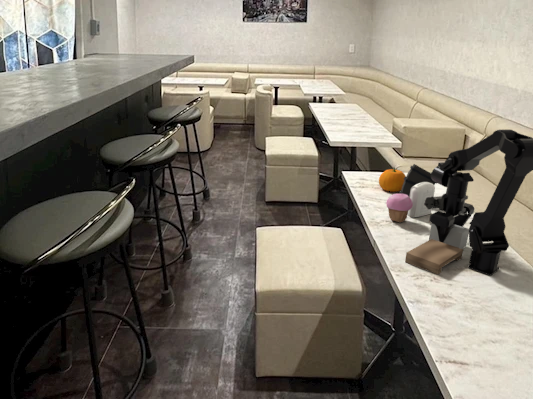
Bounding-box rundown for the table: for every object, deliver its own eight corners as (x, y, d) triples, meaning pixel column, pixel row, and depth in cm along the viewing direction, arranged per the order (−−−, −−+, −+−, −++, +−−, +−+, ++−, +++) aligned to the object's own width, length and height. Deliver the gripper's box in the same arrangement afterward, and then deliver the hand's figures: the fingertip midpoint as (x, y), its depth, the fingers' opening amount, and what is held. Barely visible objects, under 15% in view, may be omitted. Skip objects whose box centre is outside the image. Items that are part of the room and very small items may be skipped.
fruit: (376, 191, 197) (379, 169, 194) (379, 184, 208) (381, 162, 204) (405, 195, 194) (408, 172, 190) (406, 187, 204) (409, 165, 201)
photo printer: (423, 210, 177) (428, 179, 173) (432, 214, 174) (437, 182, 170) (404, 215, 172) (409, 183, 168) (414, 219, 168) (419, 186, 164)
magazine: (391, 194, 189) (412, 163, 184) (420, 209, 189) (441, 179, 184) (392, 197, 186) (414, 165, 180) (421, 213, 186) (443, 181, 181)
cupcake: (413, 220, 167) (417, 193, 164) (405, 227, 160) (409, 199, 157) (389, 214, 172) (392, 188, 168) (380, 221, 165) (383, 194, 162)
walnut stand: (461, 258, 138) (463, 249, 137) (437, 274, 128) (439, 264, 127) (430, 247, 145) (431, 238, 144) (405, 262, 135) (406, 252, 134)
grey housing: (466, 246, 147) (469, 227, 145) (458, 251, 144) (462, 231, 141) (436, 236, 154) (439, 218, 152) (428, 241, 150) (431, 221, 148)
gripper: (445, 180, 155) (437, 224, 160) (416, 191, 142) (410, 238, 147) (478, 188, 147) (470, 234, 152) (452, 200, 135) (443, 250, 140)
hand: (448, 238), depth 148 cm, fingers open, 9 cm apart
